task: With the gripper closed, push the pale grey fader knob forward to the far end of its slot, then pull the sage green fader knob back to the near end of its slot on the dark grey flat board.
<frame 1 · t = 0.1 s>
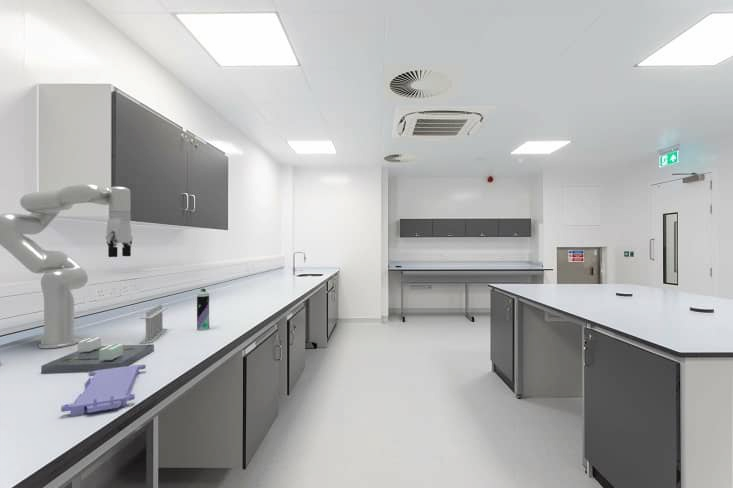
hand: (119, 256, 149), 37 cm above the lab bench, tool pointing down, fingers open, 9 cm apart
spray can: (203, 329, 174), on the lab bench
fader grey: (89, 344, 130), point 5 cm above the lab bench, slide at 0.0 cm
dark grey flat board: (103, 361, 126), on the lab bench
computer part: (109, 393, 99), on the lab bench
fader green: (111, 351, 121), point 5 cm above the lab bench, slide at 14.0 cm
test tube rack: (154, 337, 160), on the lab bench
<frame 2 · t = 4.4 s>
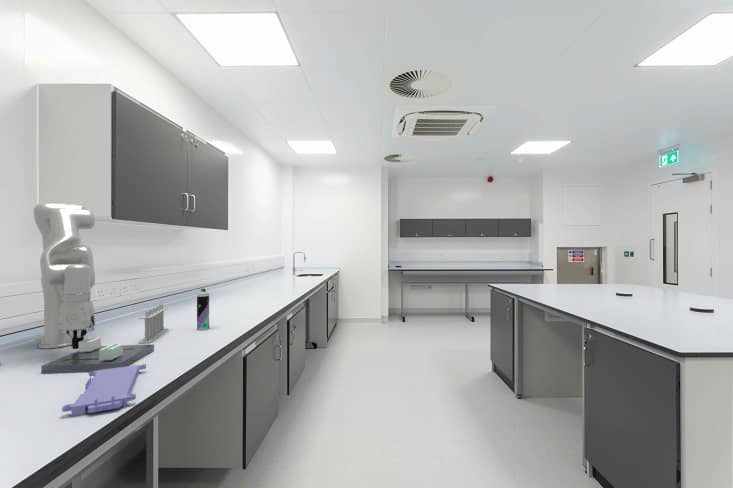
hand: (77, 347, 130), 4 cm above the lab bench, tool pointing down, fingers closed
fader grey: (90, 344, 130), point 5 cm above the lab bench, slide at 0.2 cm, touching gripper
everything else where it was.
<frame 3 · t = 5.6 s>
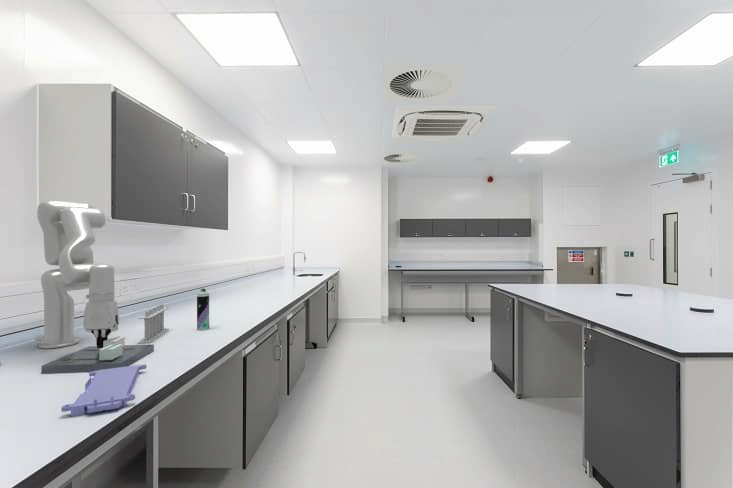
hand: (102, 347, 131), 4 cm above the lab bench, tool pointing down, fingers closed
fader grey: (114, 343, 131), point 5 cm above the lab bench, slide at 8.6 cm, touching gripper
everything else where it was.
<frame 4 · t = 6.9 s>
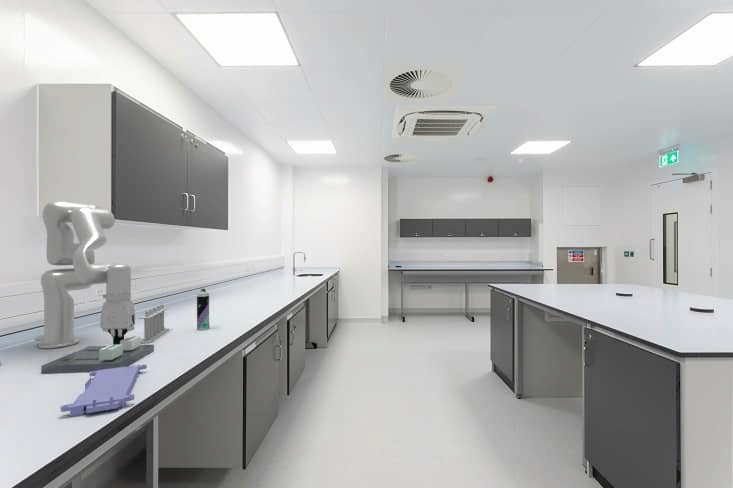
hand: (118, 346, 131), 4 cm above the lab bench, tool pointing down, fingers closed
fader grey: (130, 343, 132), point 5 cm above the lab bench, slide at 14.3 cm, touching gripper
everything else where it was.
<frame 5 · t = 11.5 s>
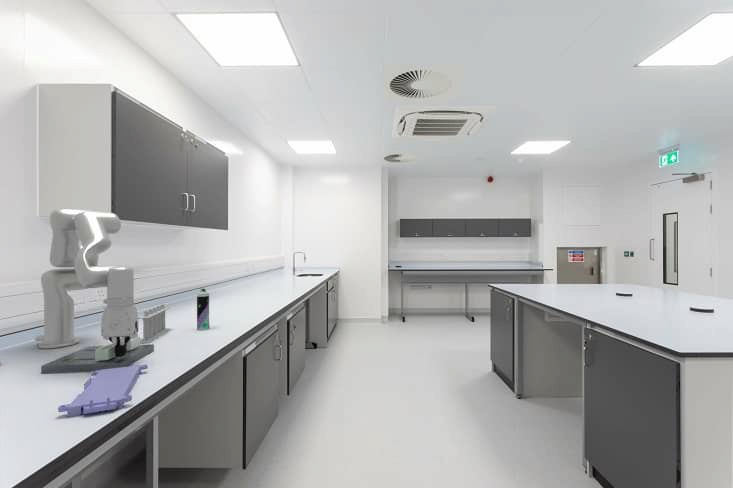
hand: (120, 355, 121), 3 cm above the lab bench, tool pointing down, fingers closed
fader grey: (129, 343, 132), point 5 cm above the lab bench, slide at 14.0 cm
fader green: (107, 351, 121), point 5 cm above the lab bench, slide at 12.7 cm, touching gripper
everything else where it was.
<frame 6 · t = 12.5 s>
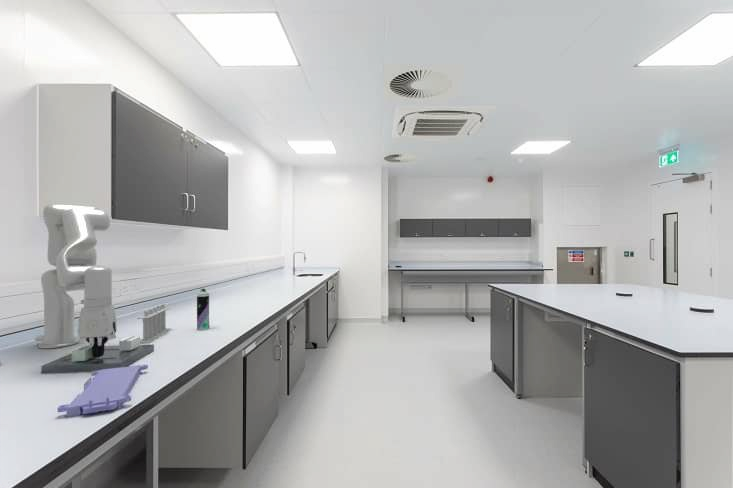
hand: (98, 356, 120), 3 cm above the lab bench, tool pointing down, fingers closed
fader green: (84, 352, 120), point 5 cm above the lab bench, slide at 5.5 cm, touching gripper
everything else where it was.
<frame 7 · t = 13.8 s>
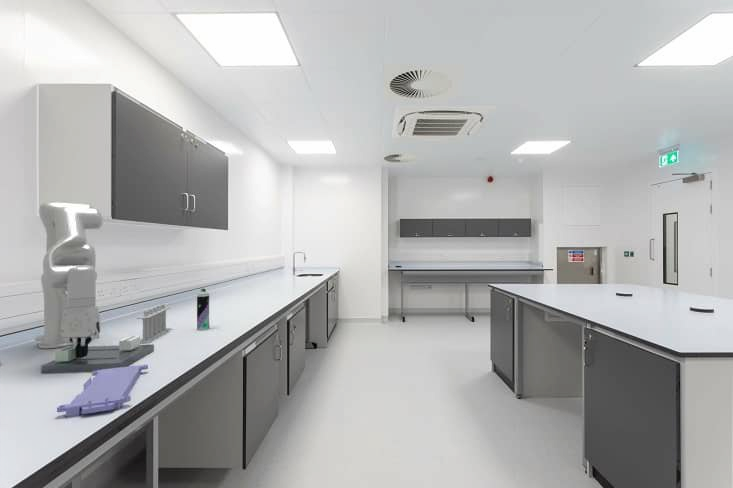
hand: (81, 356, 120), 3 cm above the lab bench, tool pointing down, fingers closed
fader green: (68, 353, 119), point 5 cm above the lab bench, slide at 0.3 cm, touching gripper
everything else where it was.
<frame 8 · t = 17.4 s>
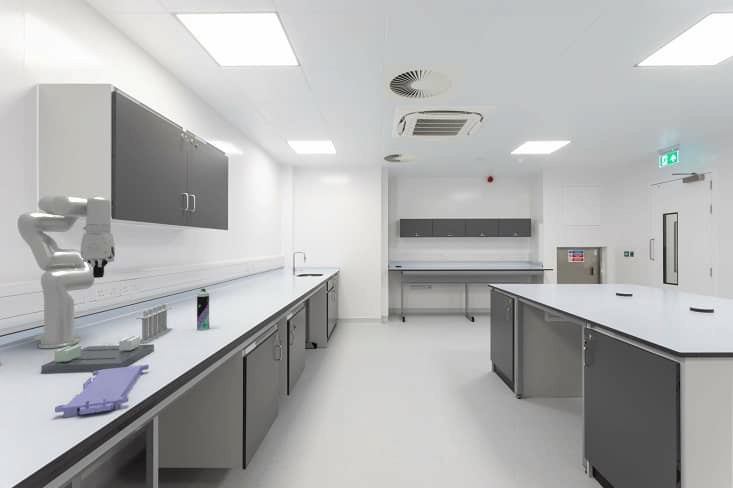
hand: (98, 277, 135), 29 cm above the lab bench, tool pointing down, fingers closed
fader green: (68, 353, 119), point 5 cm above the lab bench, slide at 0.2 cm
everything else where it was.
at the end: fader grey slide at 14.0 cm; fader green slide at 0.2 cm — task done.
